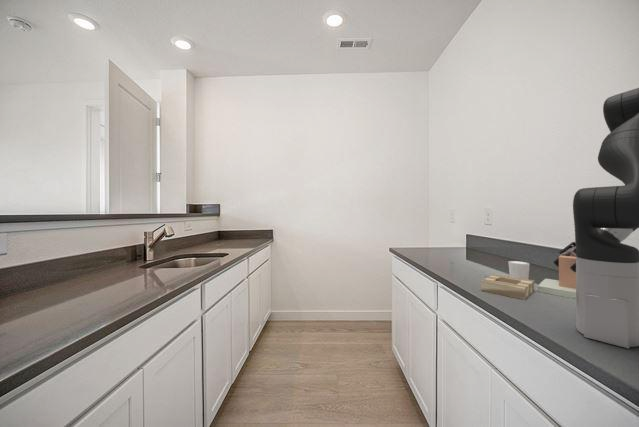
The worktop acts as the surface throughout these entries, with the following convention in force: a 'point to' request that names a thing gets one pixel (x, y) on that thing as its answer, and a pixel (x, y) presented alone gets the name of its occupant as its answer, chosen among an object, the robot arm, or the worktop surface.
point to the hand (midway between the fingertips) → (564, 267)
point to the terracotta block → (567, 272)
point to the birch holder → (508, 286)
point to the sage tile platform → (556, 288)
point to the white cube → (519, 269)
